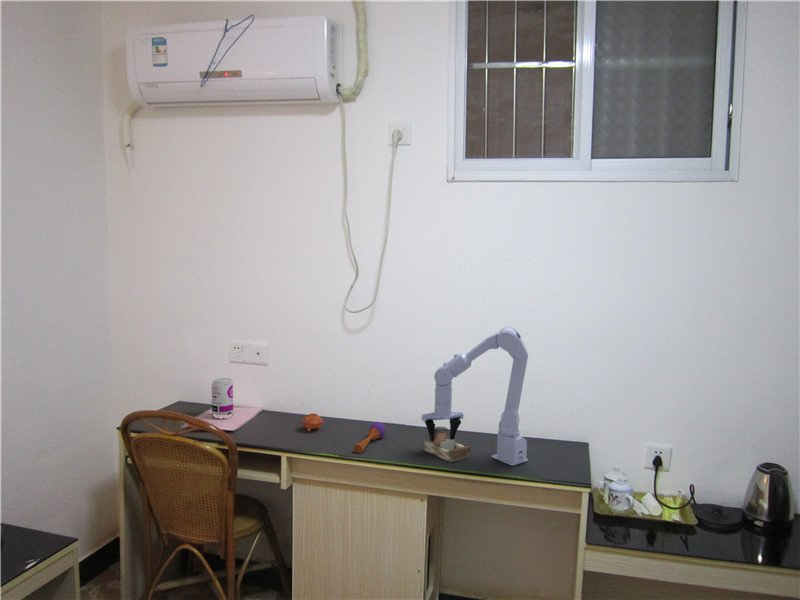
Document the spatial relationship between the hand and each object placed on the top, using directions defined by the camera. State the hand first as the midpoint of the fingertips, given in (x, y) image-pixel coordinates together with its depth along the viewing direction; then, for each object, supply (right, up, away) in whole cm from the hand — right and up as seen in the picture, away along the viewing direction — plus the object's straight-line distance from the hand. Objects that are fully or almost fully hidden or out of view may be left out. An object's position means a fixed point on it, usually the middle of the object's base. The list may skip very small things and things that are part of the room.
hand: (441, 439), depth 201 cm
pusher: (+2, -3, -2) cm, 4 cm away
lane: (+1, -4, -2) cm, 5 cm away
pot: (-48, -1, +20) cm, 52 cm away
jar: (-1, -3, +1) cm, 3 cm away
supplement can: (-86, +1, +33) cm, 92 cm away
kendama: (-25, -3, +6) cm, 26 cm away
